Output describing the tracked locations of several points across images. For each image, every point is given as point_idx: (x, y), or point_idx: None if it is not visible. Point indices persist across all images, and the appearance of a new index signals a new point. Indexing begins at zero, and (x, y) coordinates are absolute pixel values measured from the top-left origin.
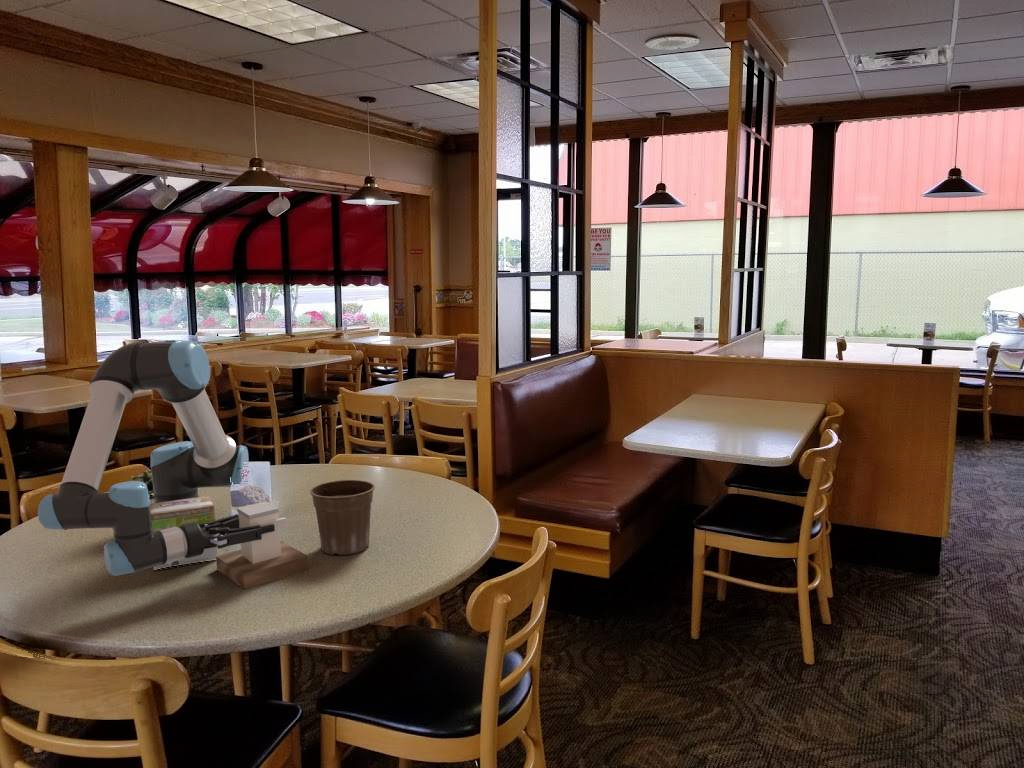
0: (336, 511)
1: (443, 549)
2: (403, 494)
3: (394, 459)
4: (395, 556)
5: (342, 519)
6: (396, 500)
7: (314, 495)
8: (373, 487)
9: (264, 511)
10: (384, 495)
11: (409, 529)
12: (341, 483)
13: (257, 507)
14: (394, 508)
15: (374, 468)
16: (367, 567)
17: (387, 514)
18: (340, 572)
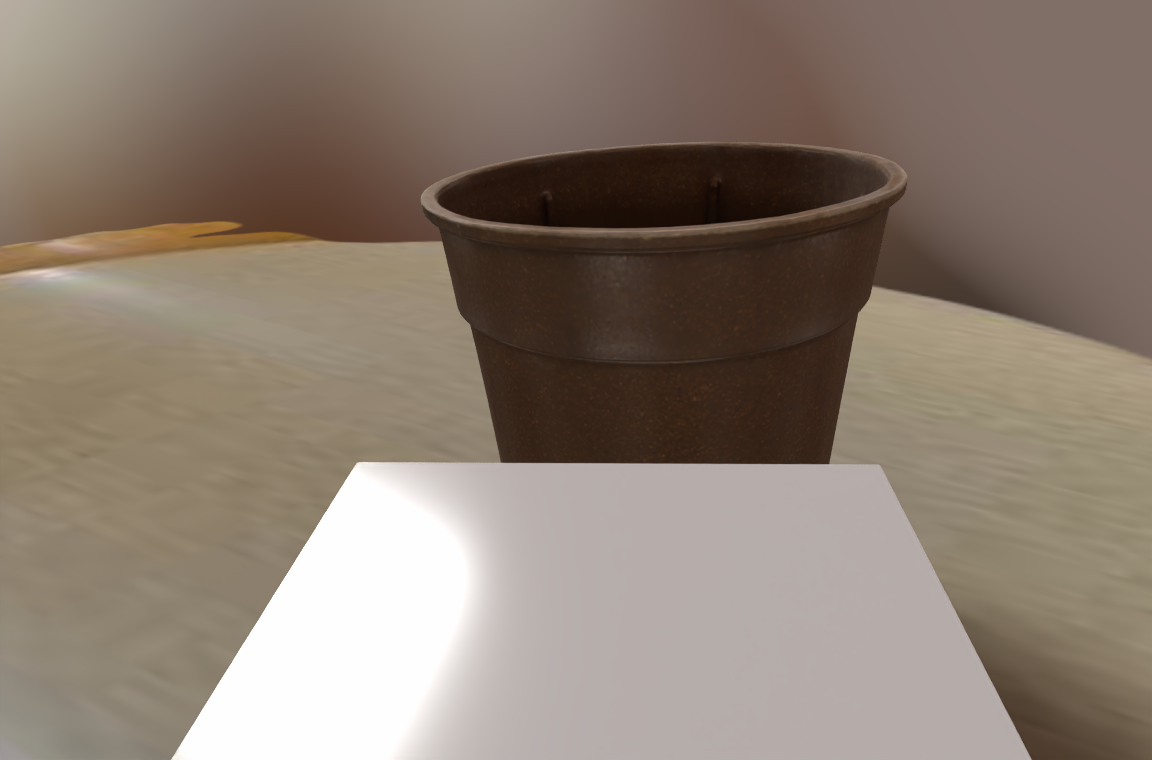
0: (840, 324)
1: (970, 373)
2: (319, 297)
3: (57, 247)
4: (961, 475)
5: (840, 374)
6: (342, 316)
7: (680, 237)
8: (776, 143)
9: (942, 649)
10: (258, 318)
11: None
12: (484, 189)
13: (534, 643)
14: (402, 335)
15: (31, 276)
16: (1082, 597)
17: (432, 358)
18: (1121, 732)
